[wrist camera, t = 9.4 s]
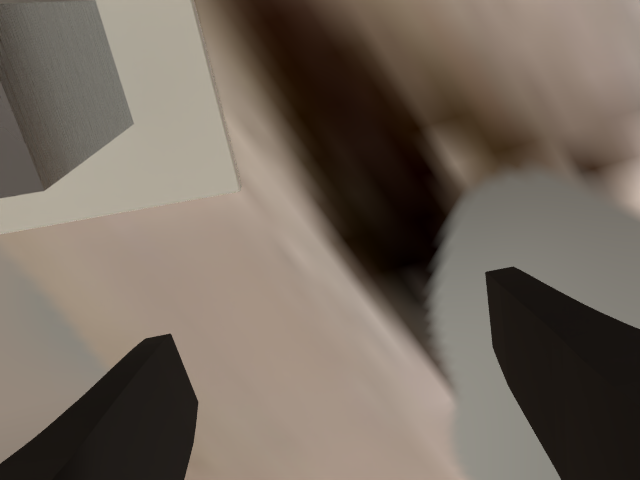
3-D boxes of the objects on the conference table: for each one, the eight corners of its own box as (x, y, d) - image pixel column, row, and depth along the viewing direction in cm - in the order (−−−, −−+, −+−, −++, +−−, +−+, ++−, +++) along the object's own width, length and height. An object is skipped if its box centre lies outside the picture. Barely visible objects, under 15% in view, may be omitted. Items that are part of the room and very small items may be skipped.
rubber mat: (163, -122, 16) (157, -126, 16) (241, 186, 20) (239, 191, 20) (-145, -56, 17) (-161, -58, 16) (-9, 231, 21) (-17, 237, 21)
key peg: (95, 0, 17) (-31, 4, 11) (134, 124, 19) (44, 191, 12) (-25, 22, 17) (-217, 40, 11) (24, 143, 19) (-119, 218, 13)
